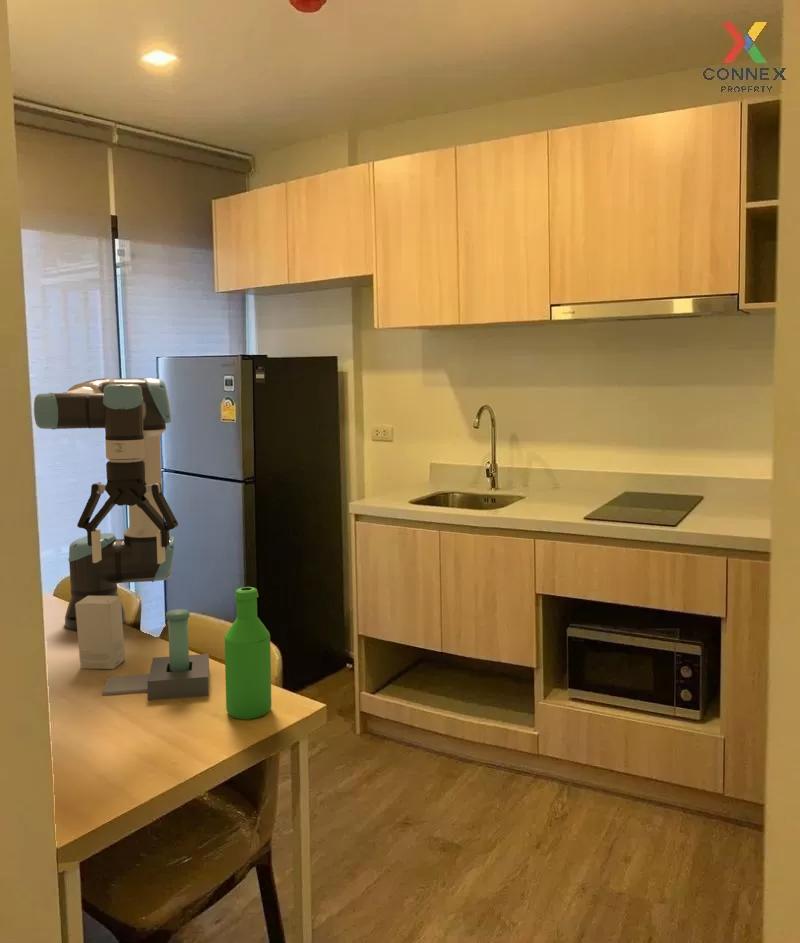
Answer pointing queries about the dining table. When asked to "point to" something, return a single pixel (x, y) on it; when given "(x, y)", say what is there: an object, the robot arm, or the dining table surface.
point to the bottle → (247, 660)
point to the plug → (178, 639)
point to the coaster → (126, 684)
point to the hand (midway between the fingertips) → (129, 562)
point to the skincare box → (100, 632)
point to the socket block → (178, 678)
